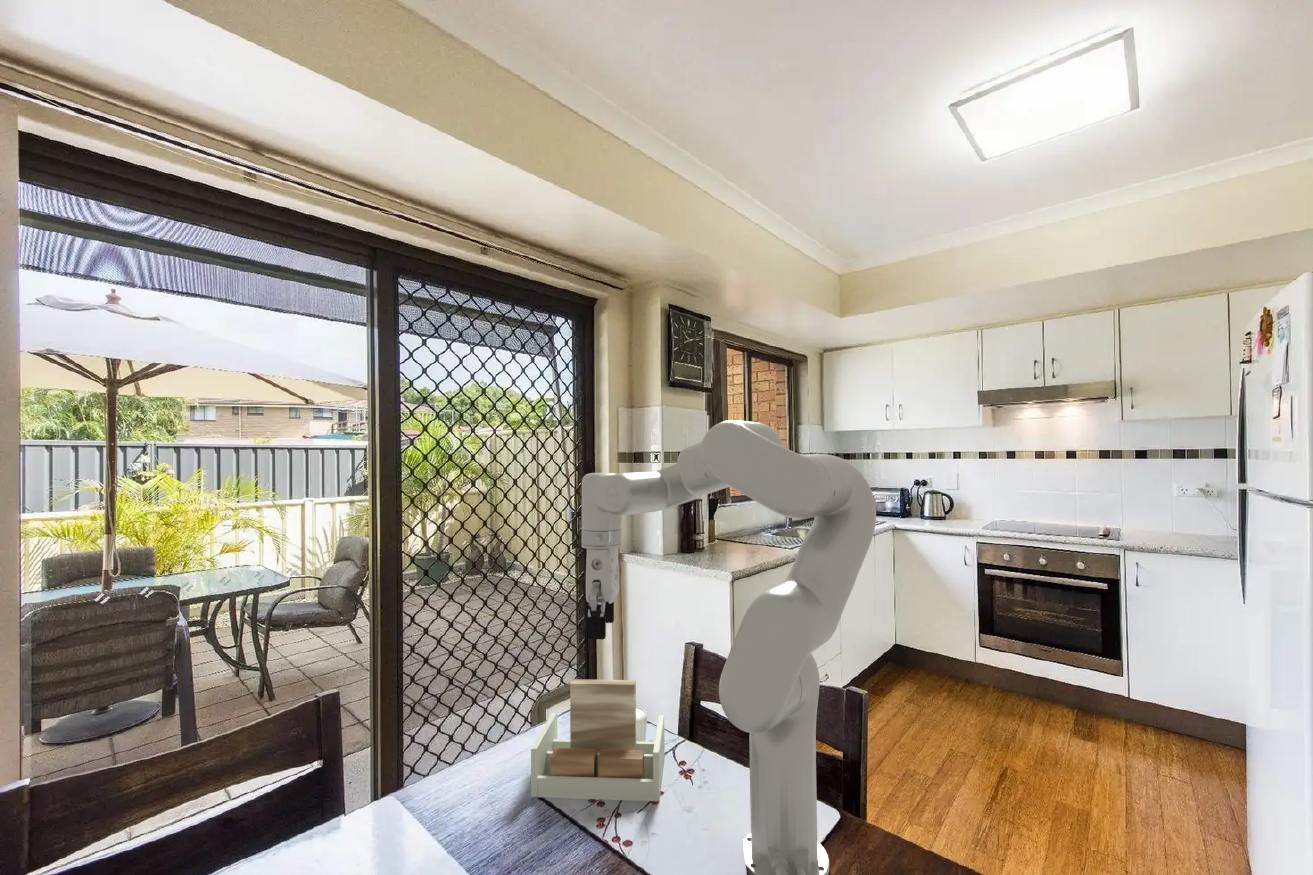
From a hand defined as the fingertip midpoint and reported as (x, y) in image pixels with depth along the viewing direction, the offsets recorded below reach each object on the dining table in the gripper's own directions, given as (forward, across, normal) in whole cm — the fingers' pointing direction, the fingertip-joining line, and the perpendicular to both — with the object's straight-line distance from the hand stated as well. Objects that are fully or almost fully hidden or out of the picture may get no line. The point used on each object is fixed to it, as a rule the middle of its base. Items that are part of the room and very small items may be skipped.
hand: (601, 630), depth 106 cm
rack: (+27, -2, -1) cm, 27 cm away
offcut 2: (+25, -6, -5) cm, 27 cm away
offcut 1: (+26, -6, +4) cm, 27 cm away
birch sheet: (+26, 0, -1) cm, 26 cm away
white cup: (+27, +11, -4) cm, 30 cm away
